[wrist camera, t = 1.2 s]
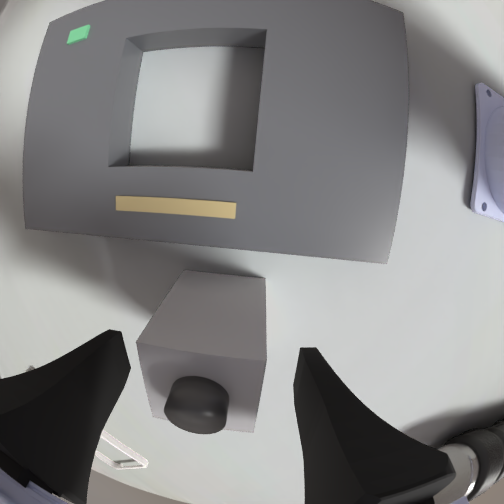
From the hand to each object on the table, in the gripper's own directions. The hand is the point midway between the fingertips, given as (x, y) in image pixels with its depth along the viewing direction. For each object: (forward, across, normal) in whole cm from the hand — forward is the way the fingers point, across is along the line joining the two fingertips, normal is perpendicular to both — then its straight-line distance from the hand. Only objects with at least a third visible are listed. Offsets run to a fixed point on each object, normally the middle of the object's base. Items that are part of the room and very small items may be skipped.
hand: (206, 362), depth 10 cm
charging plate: (+4, +1, -10) cm, 11 cm away
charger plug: (+4, 0, 0) cm, 4 cm away
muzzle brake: (+4, -36, +21) cm, 42 cm away
